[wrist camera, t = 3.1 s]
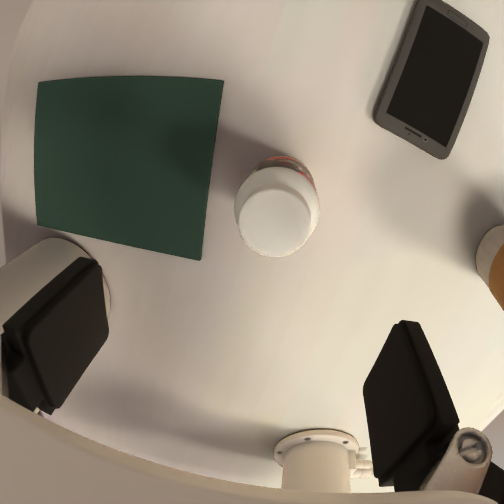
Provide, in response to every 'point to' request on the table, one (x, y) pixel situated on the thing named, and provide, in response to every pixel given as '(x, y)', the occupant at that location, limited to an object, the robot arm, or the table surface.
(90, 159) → the right mat
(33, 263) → the cylinder vase
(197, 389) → the table surface
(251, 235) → the pill bottle
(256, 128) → the table surface
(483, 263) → the coffee cup
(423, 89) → the cell phone
